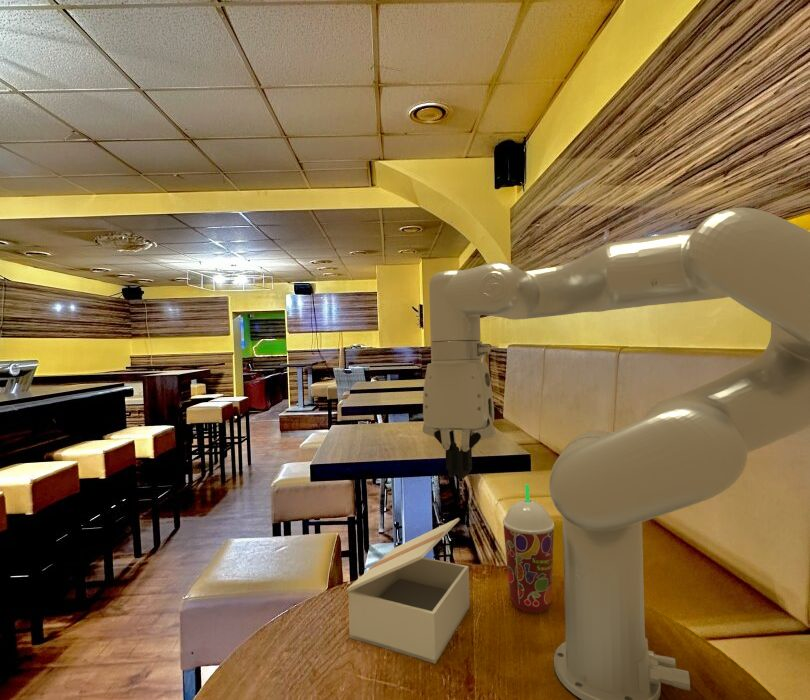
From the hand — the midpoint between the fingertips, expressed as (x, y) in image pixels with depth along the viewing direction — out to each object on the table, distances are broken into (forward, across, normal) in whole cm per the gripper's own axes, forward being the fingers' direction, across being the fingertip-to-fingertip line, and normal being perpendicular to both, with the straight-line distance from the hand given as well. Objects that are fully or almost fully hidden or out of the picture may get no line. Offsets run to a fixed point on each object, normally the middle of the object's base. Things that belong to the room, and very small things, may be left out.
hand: (459, 474), depth 68 cm
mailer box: (+24, +8, 0) cm, 26 cm away
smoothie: (+24, -8, -12) cm, 28 cm away
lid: (+13, +9, 0) cm, 16 cm away
